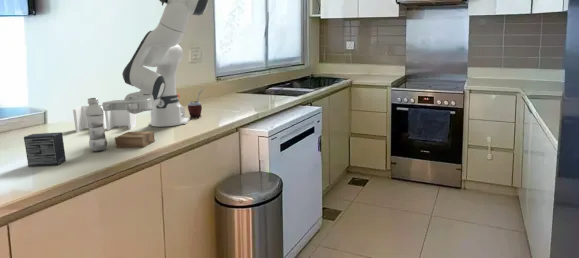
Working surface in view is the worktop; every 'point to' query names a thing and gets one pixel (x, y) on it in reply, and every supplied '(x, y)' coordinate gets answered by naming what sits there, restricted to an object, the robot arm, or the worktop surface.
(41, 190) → the worktop surface
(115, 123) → the pair of white bookends
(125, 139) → the plinth
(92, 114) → the plastic bottle
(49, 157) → the small box
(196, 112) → the mate gourd
